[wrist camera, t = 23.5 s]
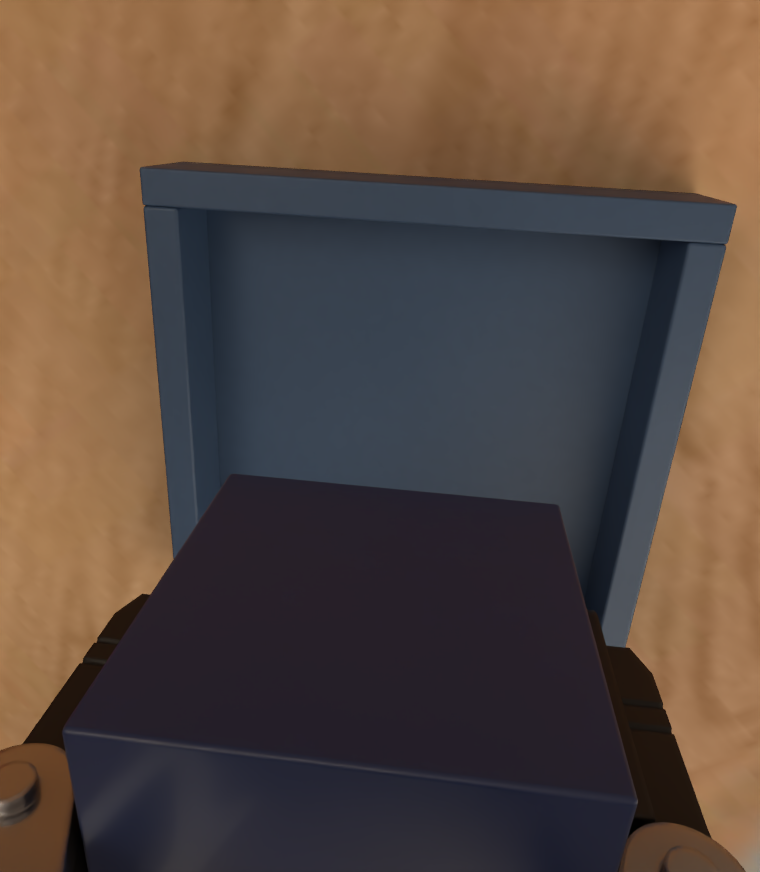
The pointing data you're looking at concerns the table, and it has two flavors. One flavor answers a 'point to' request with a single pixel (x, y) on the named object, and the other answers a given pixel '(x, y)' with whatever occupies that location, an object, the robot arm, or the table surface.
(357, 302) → the blue tray
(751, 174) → the table surface
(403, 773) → the blue block
